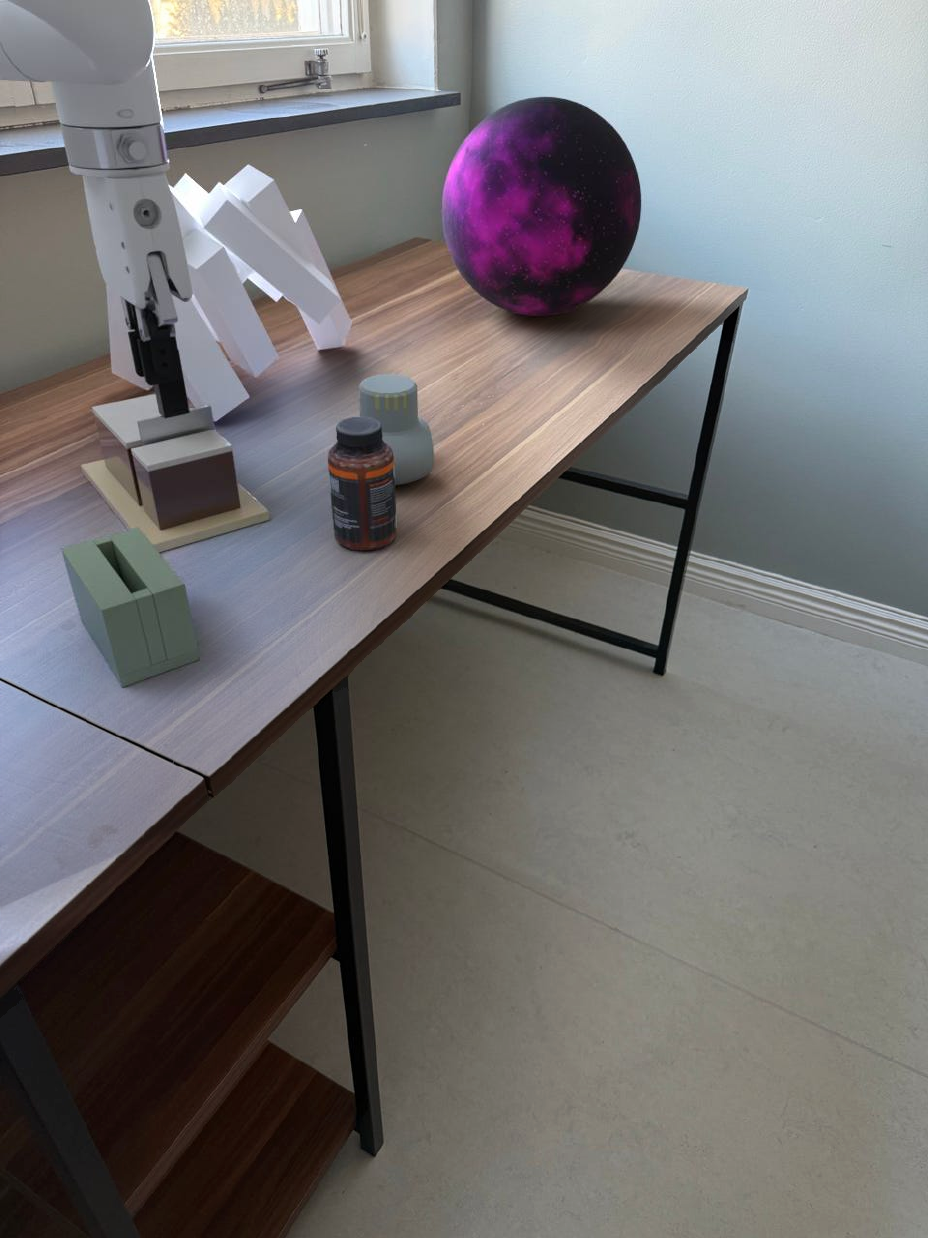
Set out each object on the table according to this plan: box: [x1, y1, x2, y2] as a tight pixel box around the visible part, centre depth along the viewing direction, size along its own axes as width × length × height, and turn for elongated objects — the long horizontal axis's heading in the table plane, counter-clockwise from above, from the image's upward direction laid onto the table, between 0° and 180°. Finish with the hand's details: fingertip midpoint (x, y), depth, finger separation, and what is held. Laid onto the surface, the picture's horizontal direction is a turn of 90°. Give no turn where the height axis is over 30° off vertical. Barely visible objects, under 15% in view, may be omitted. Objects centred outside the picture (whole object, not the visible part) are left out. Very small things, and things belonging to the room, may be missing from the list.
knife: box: [137, 350, 216, 446], centre depth 83 cm, size 7×2×13 cm, turn 126°
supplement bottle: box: [327, 416, 398, 551], centre depth 80 cm, size 6×6×11 cm
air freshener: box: [358, 373, 435, 486], centre depth 92 cm, size 11×8×10 cm
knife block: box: [60, 527, 200, 688], centre depth 68 cm, size 10×6×7 cm, turn 36°
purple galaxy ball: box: [441, 96, 642, 317], centre depth 134 cm, size 30×30×30 cm
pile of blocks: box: [105, 164, 353, 423], centre depth 109 cm, size 35×30×35 cm
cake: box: [80, 393, 271, 553], centre depth 87 cm, size 12×20×8 cm, turn 36°
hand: (159, 376), depth 80 cm, fingers closed on knife, 1 cm apart
